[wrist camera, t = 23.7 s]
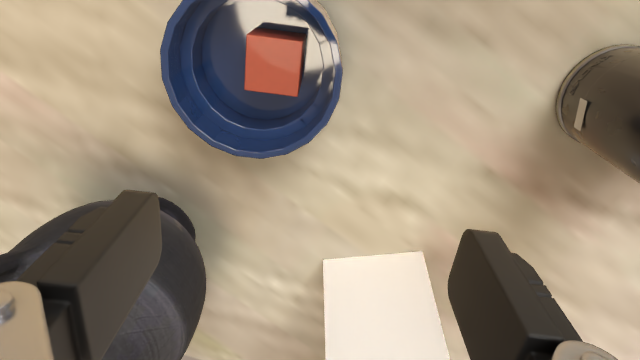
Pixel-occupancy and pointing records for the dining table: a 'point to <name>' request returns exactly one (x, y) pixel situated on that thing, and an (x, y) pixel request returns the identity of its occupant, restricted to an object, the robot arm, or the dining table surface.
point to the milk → (381, 309)
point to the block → (274, 61)
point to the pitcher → (156, 298)
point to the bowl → (229, 74)
